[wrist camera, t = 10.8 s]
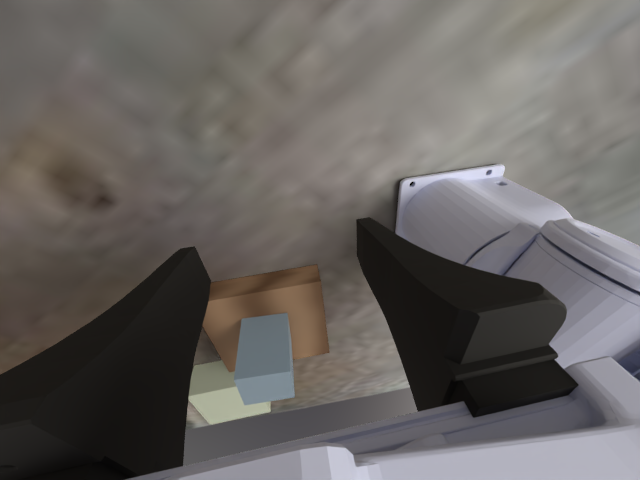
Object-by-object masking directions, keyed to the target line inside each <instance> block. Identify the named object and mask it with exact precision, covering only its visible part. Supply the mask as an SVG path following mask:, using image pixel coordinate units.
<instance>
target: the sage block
mask: <svg viewBox="0 0 640 480" xmlns="http://www.w3.org/2000/svg"><path fill="white" fill-rule="evenodd" d="M234 374H235V371H234V372H229V371H228V370H227V368H226V366H225V364H224V363H223V361H222V360H221V361H216V362H211V363H206V364H201V365H196V366H194V368H193V372H192V376H191V382H190V390H189V398H188V400H189V401H190V402H191V403H192V404H193V405H194V407H195V408H196V409H197V410H198V411H199V412H200V414H201V415H202V416H203V417H204V418H205V419H206V421H207V422H208V423H209V424H210V425H212V424H216V423H221V422H225V421H230V420H235V419H239V418H244V417H249V416H253V415H258V414H262V413H267V412H270V403H271V401H269V402H263V403H257V404H251V405H244V403H243V401H242V398H241V396H240V394H239V391H238V389H237V386H236V384H235V382H234Z"/></svg>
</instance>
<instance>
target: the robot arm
mask: <svg viewBox="0 0 640 480" xmlns="http://www.w3.org/2000/svg"><path fill="white" fill-rule="evenodd" d="M488 170H489V171H488ZM504 170H505V167H504V166H503V165H501V164H496V165H489V166H483V167H476V168H470V169H463V170H457V171H450V172H444V173H437V174H431V175H424V176H418V177H411V178H405V179H403V180H402V181H401V182H400V187H399V197H398V208H397V219H396V230H395V233H394V232H392V231H390V230H389V229H387V228H386V227H384V226H383V225H381V224H379V223H378V222H376V221H375V220H373V219H371V218H370V217H369V218H363V219H357V257H358V260H359V263H360V266H361V268H362V271H363V274H364V276H365V278H366V280H367V282H368V284H369V286H370V288H371V290H372V292H373V294H374V296H375V297H376V299H377V301H378V303H379V305H380V307H381V309H382V311H383V314H384V316H385V318H386V320H387V323H388V326H389V328H390V331H391V334H392V336H393V339H394V342H395V344H396V347H397V350H398V353H399V355H400V358H401V361H402V364H403V367H404V370H405V373H406V376H407V379H408V382H409V385H410V388H411V391H412V394H413V397H414V400H415V404H416V407H417V410H418V412H415V413H410V414H406V415H402V416H397V417H393V418H389V419H384V420H380V421H376V422H371V423H367V424H363V425H358V426H354V427H350V428H346V429H341V430H337V431H332V432H328V433H324V434H320V435H316V436H311V437H307V438H302V439H298V440H294V441H290V442H285V443H281V444H276V445H272V446H268V447H263V448H259V449H255V450H250V451H246V452H242V453H237V454H233V455H229V456H224V457H220V458H216V459H212V460H207V461H203V462H198V463H195V464H190V465H186V466H183V456H184V440H185V427H186V417H187V406H188V398H189V390H190V382H191V375H192V368H193V362H194V356H195V351H196V347H197V343H198V340H199V336H200V332H201V328H202V325H203V321H204V317H205V313H206V310H207V306H208V302H209V294H210V284H211V280H210V278H209V276H208V274H207V271H206V269H205V267H204V265H203V263H202V261H201V259H200V257H199V254H198V252H197V250H196V248H195V246H194V247H188V248H182V249H179V250H178V251H177V252H176V253H174V254H173V255H172V256H171V257H170V258H169V259H167V260H166V261H165V262H164V263H163V264H162V265H161V266H160V267H159V268H157V269H156V270H155V271H154V272H153V273H152V274H151V275H150V276H149V277H147V278H146V279H145V280H144V281H143V282H142V283H141V284H139V285H138V286H137V287H136V288H135V289H133V290H132V291H131V292H130V293H129V294H127V295H126V296H125V297H124V298H123V299H121V300H120V301H119V302H117V303H116V304H115V305H114V306H112V307H111V308H110V309H108V310H107V311H105V312H104V313H103V314H101V315H100V316H98V317H97V318H96V319H94V320H93V321H91V322H90V323H88V324H87V325H85V326H84V327H82V328H80V329H79V330H77V331H76V332H74V333H73V334H71V335H69V336H68V337H66V338H65V339H63V340H62V341H60V342H58V343H57V344H55V345H53V346H52V347H50V348H48V349H46V350H45V351H43V352H41V353H40V354H38V355H36V356H34V357H32V358H31V359H29V360H27V361H25V362H23V363H22V364H20V365H18V366H16V367H14V368H12V369H10V370H9V371H7V372H5V373H3V374H1V375H0V480H640V246H639V245H637V244H635V243H632V242H630V241H628V240H626V239H623V238H621V237H619V236H617V235H614V234H612V233H610V232H607V231H605V230H602V229H600V228H597V227H595V226H592V225H590V224H587V223H584V222H581V221H578V220H575V219H573V218H572V216H571V215H570V214H569V213H568V211H567V210H566V209H565V208H563V207H562V206H561V205H559V204H558V203H556V202H554V201H552V200H550V199H548V198H546V197H544V196H541V195H539V194H537V193H535V192H533V191H531V190H529V189H527V188H525V187H523V186H521V185H519V184H517V183H515V182H513V181H511V180H508V179H506V178H504V177H502V176H503V173H504ZM487 171H488V173H486V172H487ZM411 182H413V184H412V185H410V183H411Z"/></svg>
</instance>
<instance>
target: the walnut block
mask: <svg viewBox="0 0 640 480" xmlns="http://www.w3.org/2000/svg"><path fill="white" fill-rule="evenodd" d="M282 313H288V320H289V327H290V334H291V343H292V360H295V359H300V358H305V357H310V356H315V355H320V354H325V353H329V345H328V337H327V328H326V320H325V312H324V304H323V296H322V287H321V280H320V276H319V271H318V267H317V264H316V265H311V266H305V267H299V268H293V269H287V270H282V271H276V272H270V273H264V274H258V275H253V276H247V277H241V278H235V279H229V280H224V281H218V282H212V283H211V284H210V294H209V302H208V306H207V310H206V313H205V317H204V321H203V325H202V326H203V328H204V329H205V331H206V333H207V335H208V336H209V338H210V340H211V342H212V343H213V345H214V347H215V349H216V350H217V352H218V354H219V356H220V357H221V359H222V361H223V363H224V364H225V366H226V368H227V370H228V371H229V372H234V371H235V367H236V359H237V351H238V343H239V336H240V328H241V320H242V319H243V318H251V317H259V316H266V315H274V314H282Z"/></svg>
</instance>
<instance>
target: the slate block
mask: <svg viewBox="0 0 640 480" xmlns="http://www.w3.org/2000/svg"><path fill="white" fill-rule="evenodd" d="M234 382H235V384H236V386H237V389H238V391H239V394H240V396H241V398H242V401H243V403H244V405H251V404H257V403H263V402H269V401H275V400H281V399H287V398H293V397H295V393H294V376H293V360H292V343H291V334H290V327H289V320H288V313H282V314H274V315H266V316H259V317H251V318H243V319H242V320H241V328H240V336H239V343H238V351H237V359H236V367H235V374H234Z"/></svg>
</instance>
